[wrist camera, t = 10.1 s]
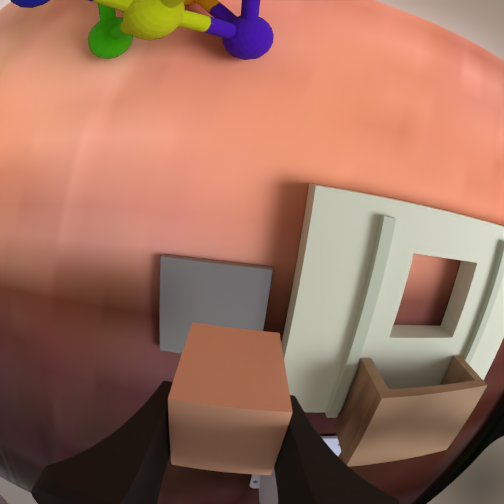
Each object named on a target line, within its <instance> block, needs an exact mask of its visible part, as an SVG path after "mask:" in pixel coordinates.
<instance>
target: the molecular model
mask: <svg viewBox="0 0 504 504" xmlns="http://www.w3.org/2000/svg"><path fill="white" fill-rule="evenodd" d="M48 1H50V0H11V2H13V3H14V4H16V5H18V6H20V7H28V8H33V7H36V6H40V5H43V4H45V3H47V2H48ZM89 1H92V2H96V3H98V7H99V15H100V21H99V22H98V23H97V24H96V25H95V26H94V27H93V28H92V30H91V32H90V35H89V37H88V41H89V48H90V49H91V51H92V53H93V54H95V55H96V56H98V57H99V58H106V59H110V58H114V57H117V56H119V55H121V54H122V53H124V52H125V51H126V50H127V49H128V47H129V46H130V44H131V42H132V38H133V35H134V36H135V37H137V38H141V39H145V40H153V39H159V38H163V37H165V36H167V35H168V34H170V33H171V32H173V31H174V30H176V28H177V27H183V28H187V29H192V30H196V31H200V32H204V33H208V34H212V35H216V36H220V37H222V40H223V44H224V46H225V48H226V50H227V51H228V52H229V53H230V54H231V55H233V56H235V57H237V58H240V59H243V60H247V59H256V58H259V57H261V56H262V55H263V54H265V53H266V52H268V50H269V49H270V47H271V45H272V43H273V31H272V28H271V27H270V25H269V24H268V23H267V22H266V21H265V20H264V19H262V18H261V17H258V15H259V6H260V0H242V8H241V16H238V17H237V16H235V15H234V14H233V13H232V12H231V11H230V10H228V9H227V8H226V7H225V6H224V5H223V4H221V3H220V2H219V1H218V0H89ZM194 3H197V4H199V5H200V6H201V7H202V8H204V9H205V10H206V11H207V12H208V13H210V14H211V15H212V16H213V17H214V18H213V17H209V16H206V15H202V14H199V13H195V12H191V11H187V10H184V9H185V6H184V5H191V4H194ZM115 9H118V10H121V11H123V19H122V18H120V17H116V16H115Z"/></svg>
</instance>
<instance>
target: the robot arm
mask: <svg viewBox="0 0 504 504" xmlns="http://www.w3.org/2000/svg"><path fill="white" fill-rule="evenodd" d="M172 384H173V382H169V381H163V382H162V383H161V385H160V386H159V387H158V389H157V390H156V391H155V392H154V394H153V395H152V396H151V397H150V398H149V399H148V401H147V402H146V403H145V404H144V405H143V406H142V407H141V408H140V409H139V410H138V411H137V412H136V413H135V414H134V415H133V416H132V417H131V418H130V419H129V420H128V421H127V422H126V423H125V424H123V425H122V426H121V427H120V428H119V429H117V430H116V431H115V432H113V433H112V434H111V435H109V436H108V437H107V438H105V439H104V440H102V441H100V442H99V443H97V444H96V445H94V446H92V447H91V448H89V449H87V450H85V451H83V452H81V453H79V454H77V455H75V456H73V457H70V458H68V459H65V460H63V461H60V462H57V463H54V464H51V465H48V466H46V467H45V469H44V470H43V471H42V472H41V474H40V475H39V477H38V479H37V481H36V483H35V485H34V487H33V489H32V491H31V493H32V496H33V497H34V499H35V500H36V502H37V503H38V504H157V502H158V497H159V491H160V486H161V482H162V478H163V475H164V471H165V468H166V465H167V462H168V459H169V456H170V453H171V452H170V436H169V415H168V396H169V393H170V390H171V387H172ZM290 399H291V405H292V415H291V419H290V422H289V425H288V428H287V431H286V434H285V437H284V440H283V443H282V446H281V448H280V451H279V454H278V457H277V460H276V463H275V465H274V468H273V471H272V473H271V475H258V474H252V476H251V480H250V487H251V488H259V504H401V503H400V501H399V500H398V499H396V498H394V497H393V496H391V495H389V494H387V493H385V492H383V491H381V490H379V489H378V488H376V487H375V486H373V485H371V484H370V483H368V482H367V481H366V480H364V479H363V478H362V477H360V476H359V475H358V474H357V473H355V472H354V471H353V470H351V469H350V468H349V467H348V466H347V465H346V464H345V463H344V462H343V461H342V460H341V459H340V458H339V457H338V456H339V454H340V452H341V448H340V445H339V441H338V438H337V436H320V435H319V433H318V432H317V430H316V429H315V428H314V426H313V425H312V423H311V422H310V420H309V419H308V417H307V415H306V414H305V412H304V411H303V409H302V407H301V405H300V404H299V402H298V400H297V398H296V397H295V396H294V395H290ZM0 504H8V503H7V502H6V500H5V499H4V498H3V497H2V496H1V495H0Z"/></svg>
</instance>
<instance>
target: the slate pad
mask: <svg viewBox="0 0 504 504" xmlns="http://www.w3.org/2000/svg"><path fill="white" fill-rule="evenodd" d="M272 272H273V268H272V267H270V266H261V265H252V264H244V263H235V262H227V261H218V260H210V259H201V258H193V257H185V256H177V255H168V254H163V255H162V256H161V263H160V350H163V351H169V352H176V353H182V352H183V349H184V346H185V343H186V340H187V337H188V334H189V331H190V328H191V325H192V322H194V323H201V324H208V325H215V326H223V327H231V328H239V329H248V330H257V331H263V329H264V323H265V316H266V310H267V304H268V298H269V291H270V285H271V278H272Z"/></svg>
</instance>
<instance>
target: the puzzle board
mask: <svg viewBox="0 0 504 504" xmlns="http://www.w3.org/2000/svg"><path fill="white" fill-rule="evenodd" d="M414 253H415V254H422V255H429V256H435V257H442V258H449V259H455V260H461V262H460V266H459V269H458V273H457V277H456V280H455V283H454V287H453V290H452V293H451V296H450V299H449V302H448V306H447V308H446V311H445V314H444V317H443V320H442V323H441V325H440V326H430V325H393V324H394V321H395V318H396V315H397V312H398V309H399V305H400V302H401V299H402V295H403V292H404V288H405V285H406V281H407V277H408V274H409V270H410V266H411V262H412V258H413V254H414ZM503 337H504V226H503V225H499V224H496V223H492V222H489V221H485V220H481V219H478V218H474V217H470V216H466V215H463V214H459V213H455V212H451V211H447V210H443V209H439V208H434V207H430V206H426V205H421V204H417V203H412V202H408V201H403V200H399V199H394V198H389V197H384V196H379V195H374V194H369V193H363V192H358V191H353V190H347V189H341V188H336V187H330V186H324V185H318V184H311V183H309V187H308V194H307V201H306V207H305V214H304V220H303V227H302V233H301V239H300V245H299V251H298V257H297V263H296V268H295V274H294V280H293V285H292V291H291V296H290V302H289V307H288V312H287V318H286V323H285V328H284V333H283V338H282V343H281V345H282V351H283V357H284V363H285V369H286V375H287V381H288V387H289V393H290V395H294V396H295V397H296V398H297V400H298V402H299V404H300V405H301V407H302V409H303V411H304V412H325V413H326V417H327V418H336V417H337V416H338V413H339V412H341V410H342V407H343V405H344V402H345V400H346V397H347V395H348V392H349V390H350V387H351V384H352V382H353V379H354V376H355V374H356V371H357V368H358V365H359V362H360V360H361V358H371V359H372V360H373V362H374V364H375V366H376V368H377V369H378V371H379V373H380V375H381V376H382V378H383V380H384V382H385V384H386V385H387V387H388V389H403V388H416V387H426V386H436V385H440V383H441V381H442V379H443V377H444V375H445V373H446V371H447V369H448V367H449V364H450V362H451V360H452V358H453V356H457V355H460V356H461V357H462V358H463V359H464V360H465V361H466V362H467V363H468V364H469V365H470V366H471V368H472V369H473V370H474V371H475V372H476V373H477V374H478V375H479V376H480V377H481V379H482V380H484V378H485V376H486V374H487V372H488V370H489V368H490V366H491V364H492V362H493V360H494V357H495V355H496V353H497V351H498V349H499V347H500V344H501V342H502V340H503Z"/></svg>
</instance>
